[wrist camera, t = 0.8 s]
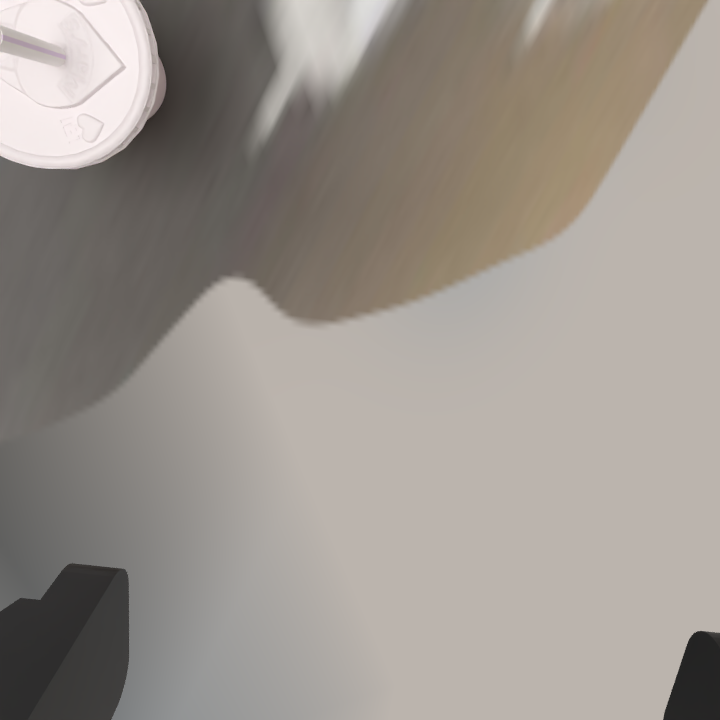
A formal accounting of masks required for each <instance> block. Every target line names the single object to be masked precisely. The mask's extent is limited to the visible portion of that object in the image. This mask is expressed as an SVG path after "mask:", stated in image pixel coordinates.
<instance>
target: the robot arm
mask: <svg viewBox="0 0 720 720" xmlns="http://www.w3.org/2000/svg"><path fill="white" fill-rule="evenodd" d="M128 585H129V583H128V575H127V572H126V570H125V569H119V568H110V567H100V566H91V565H82V564H69V565H67V566H66V567H65V568H64V569H63V570H62V571H61V573H60V574H59V575H58V577H57V578H56V579H55V581H54V582H53V583H52V585H51V586H50V588H49V589H48V590H47V592H46V593H45V594H44V596H43V597H42V598H41V600H35V599H25V598H20V599H19V600H17V601H15V602H14V603H13V604H11V605H9V606H8V607H7V608H5V609H3V610H2V611H1V612H0V720H111V719H112V716H113V714H114V712H115V710H116V708H117V705H118V703H119V700H120V698H121V694H122V691H123V688H124V684H125V680H126V675H127V669H128V662H129V591H128V590H129V586H128ZM663 720H720V633H715V632H705V631H698V632H696V633H694V634H693V635H692V636H691V638H690V639H689V641H688V644H687V647H686V650H685V653H684V656H683V659H682V662H681V665H680V668H679V671H678V674H677V677H676V680H675V683H674V686H673V689H672V692H671V695H670V698H669V701H668V704H667V707H666V710H665V713H664V719H663Z"/></svg>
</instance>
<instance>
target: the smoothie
mask: <svg viewBox="0 0 720 720" xmlns="http://www.w3.org/2000/svg"><path fill="white" fill-rule="evenodd" d="M165 92H166V75H165V71H164V67H163V64H162V62H161V60H160V58H159V56H158V50H157V43H156V40H155V37H154V33H153V30H152V27H151V24H150V21H149V18H148V15H147V13H146V11H145V9H144V8H143V6H142V4H141V3H140V1H139V0H0V156H2V157H4V158H7V159H9V160H12V161H14V162H17V163H20V164H24V165H27V166H32V167H38V168H47V169H78V168H82V167H86V166H90V165H93V164H97V163H101V162H103V161H105V160H107V159H108V158H110V157H111V156H113V155H115V154H116V153H118V152H120V151H121V150H123V149H125V148H126V147H127V145H128V144H129V143H130V142H131V141H132V140H133V139H134V138H135V136H136V135H137V134H138V133H139V132H140V131H141V130H142V129H143V127H144V125H145V122H146V120H148V119H149V118H150V117H152V116H153V115H154V114H155V113H156V112H157V111H158V109H159V108H160V106H161V104H162V102H163V100H164V97H165Z"/></svg>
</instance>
